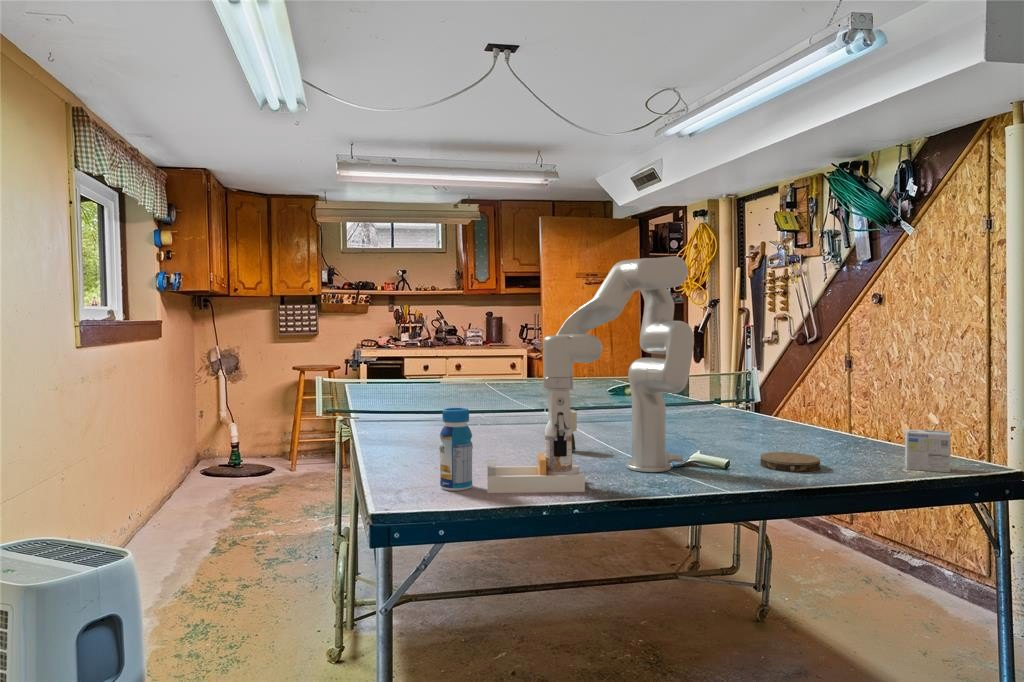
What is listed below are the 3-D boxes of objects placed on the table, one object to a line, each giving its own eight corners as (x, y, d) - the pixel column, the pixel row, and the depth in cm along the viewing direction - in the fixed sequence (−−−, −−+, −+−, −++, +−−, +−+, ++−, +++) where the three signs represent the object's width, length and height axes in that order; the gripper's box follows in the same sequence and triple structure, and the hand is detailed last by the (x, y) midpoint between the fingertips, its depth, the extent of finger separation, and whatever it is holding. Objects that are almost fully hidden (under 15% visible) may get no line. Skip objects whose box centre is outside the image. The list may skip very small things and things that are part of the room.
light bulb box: (947, 468, 188) (947, 430, 187) (951, 473, 182) (951, 434, 181) (903, 465, 192) (904, 428, 192) (906, 469, 186) (906, 431, 186)
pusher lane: (578, 480, 175) (578, 457, 175) (584, 491, 163) (584, 467, 163) (487, 481, 175) (487, 458, 174) (487, 493, 163) (487, 468, 162)
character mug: (550, 448, 220) (550, 409, 219) (571, 447, 221) (571, 409, 221) (559, 455, 209) (559, 414, 209) (581, 454, 211) (581, 413, 210)
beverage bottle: (468, 492, 163) (468, 411, 163) (435, 490, 165) (434, 411, 164) (476, 484, 172) (475, 407, 171) (444, 482, 173) (444, 406, 173)
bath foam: (556, 483, 164) (555, 403, 164) (539, 478, 170) (538, 400, 169) (577, 479, 168) (577, 401, 168) (561, 474, 174) (560, 398, 173)
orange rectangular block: (543, 477, 173) (543, 453, 173) (546, 485, 165) (546, 460, 164) (537, 477, 173) (537, 453, 173) (539, 485, 165) (539, 460, 164)
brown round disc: (756, 460, 200) (756, 451, 200) (812, 463, 197) (812, 453, 197) (765, 472, 185) (765, 461, 185) (826, 474, 182) (826, 464, 181)
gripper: (577, 387, 160) (577, 460, 160) (569, 380, 177) (569, 446, 178) (546, 387, 160) (546, 460, 160) (541, 380, 177) (541, 447, 178)
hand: (558, 452), depth 169 cm, fingers closed on bath foam, 7 cm apart
